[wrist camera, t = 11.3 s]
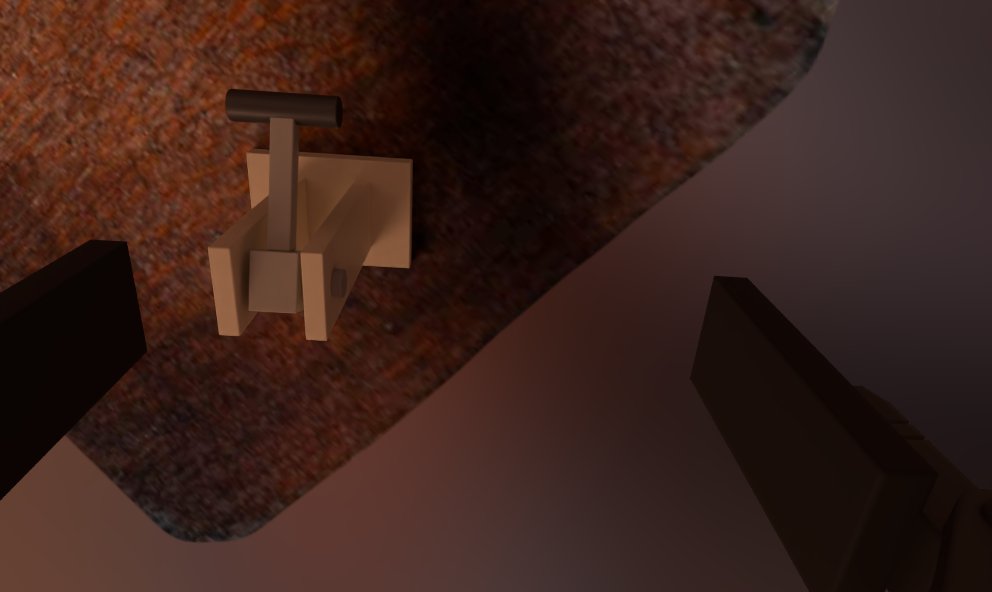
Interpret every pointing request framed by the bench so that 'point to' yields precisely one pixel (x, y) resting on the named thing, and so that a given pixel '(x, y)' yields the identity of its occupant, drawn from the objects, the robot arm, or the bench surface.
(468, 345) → the bench surface
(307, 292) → the bracket
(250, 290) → the lever
